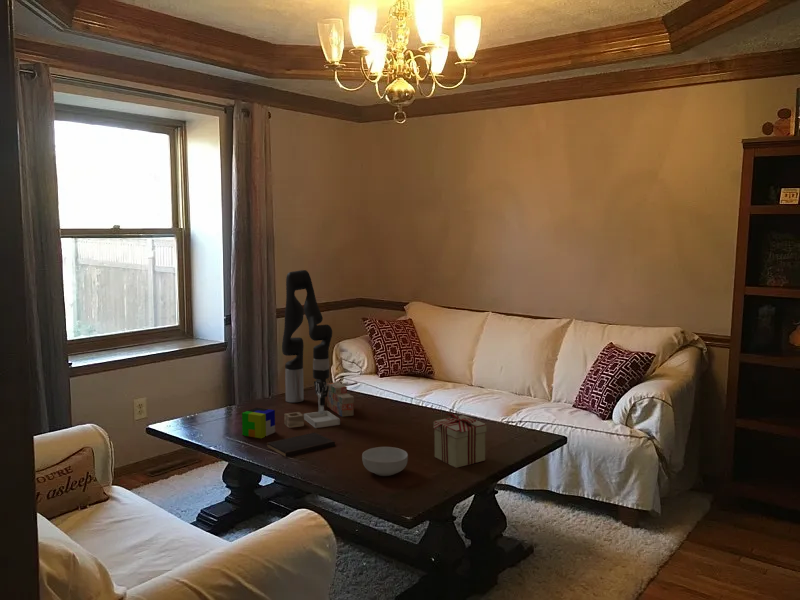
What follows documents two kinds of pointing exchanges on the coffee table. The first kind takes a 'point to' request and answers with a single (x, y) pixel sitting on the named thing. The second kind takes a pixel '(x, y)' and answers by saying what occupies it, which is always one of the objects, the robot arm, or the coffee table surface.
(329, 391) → the stack of blocks
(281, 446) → the hardcover book
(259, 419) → the puzzle toy
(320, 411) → the cylinder
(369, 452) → the cereal bowl
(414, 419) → the coffee table surface
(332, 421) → the tray
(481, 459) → the gift box
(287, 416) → the maple bore block
